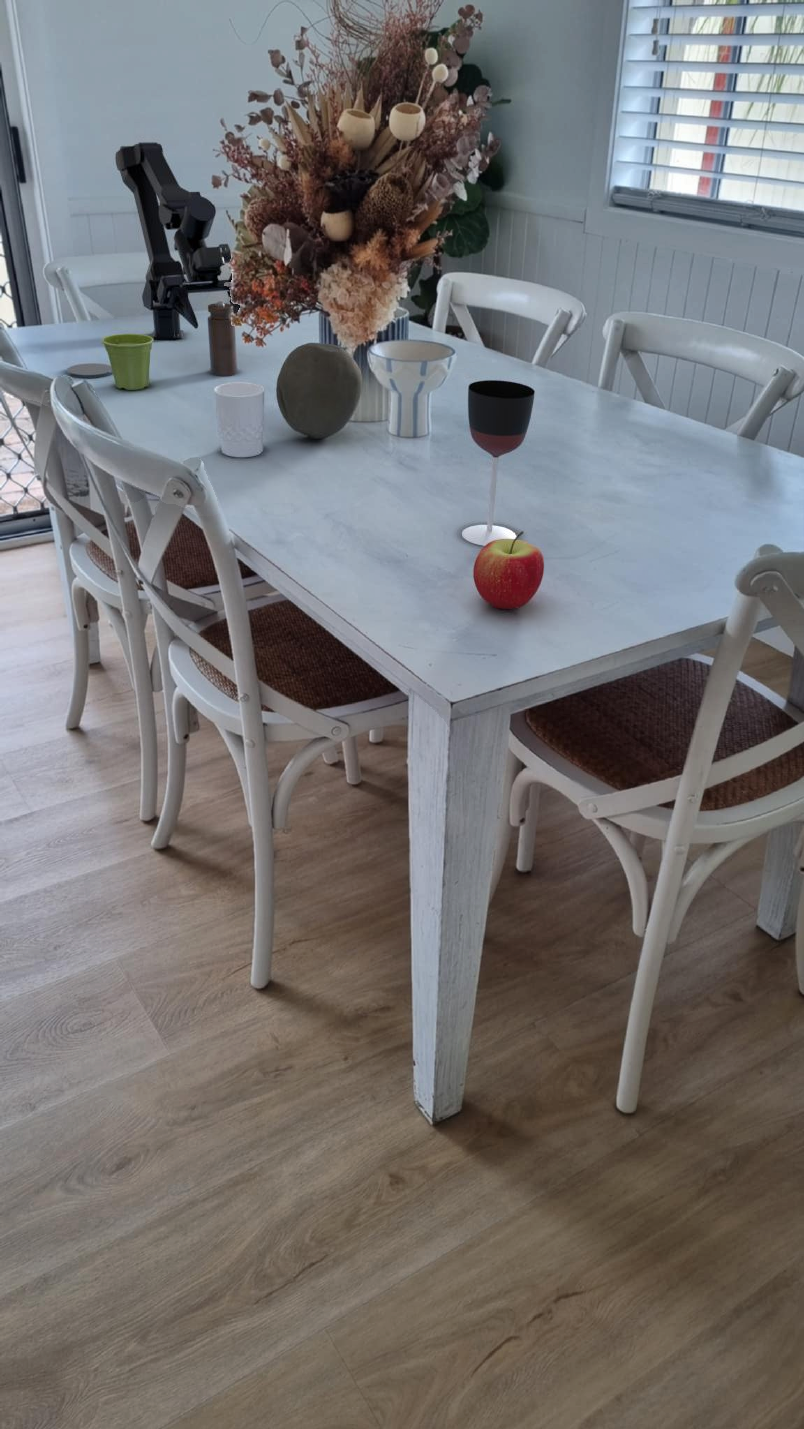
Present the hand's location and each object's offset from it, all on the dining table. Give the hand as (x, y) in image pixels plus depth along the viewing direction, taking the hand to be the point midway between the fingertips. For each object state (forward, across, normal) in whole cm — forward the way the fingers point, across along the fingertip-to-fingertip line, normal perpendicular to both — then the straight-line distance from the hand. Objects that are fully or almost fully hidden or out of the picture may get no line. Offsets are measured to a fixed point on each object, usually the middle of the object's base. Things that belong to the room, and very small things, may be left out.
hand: (219, 325), depth 208 cm
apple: (+86, -9, -72) cm, 113 cm away
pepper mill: (+7, 0, +5) cm, 9 cm away
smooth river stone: (+38, 0, -25) cm, 46 cm away
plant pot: (+9, -20, +4) cm, 22 cm away
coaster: (0, -24, +13) cm, 27 cm away
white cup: (+40, -15, -26) cm, 50 cm away
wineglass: (+73, +2, -59) cm, 94 cm away
